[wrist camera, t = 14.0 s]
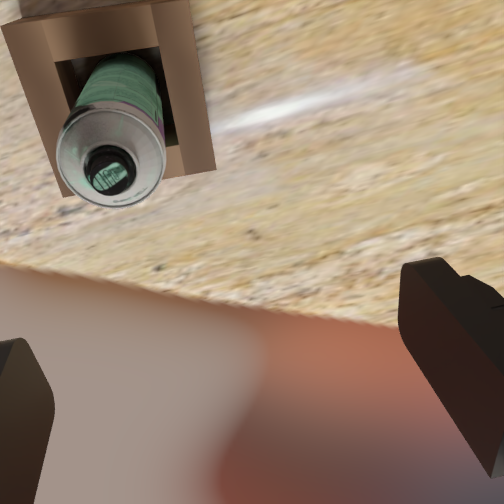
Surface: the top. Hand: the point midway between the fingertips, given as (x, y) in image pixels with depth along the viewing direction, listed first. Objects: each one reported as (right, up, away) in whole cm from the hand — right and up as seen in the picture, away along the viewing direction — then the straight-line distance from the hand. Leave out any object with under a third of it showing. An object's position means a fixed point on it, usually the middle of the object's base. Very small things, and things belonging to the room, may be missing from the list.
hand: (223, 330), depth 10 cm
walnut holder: (-10, +15, +28) cm, 33 cm away
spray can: (-10, +15, +28) cm, 34 cm away
